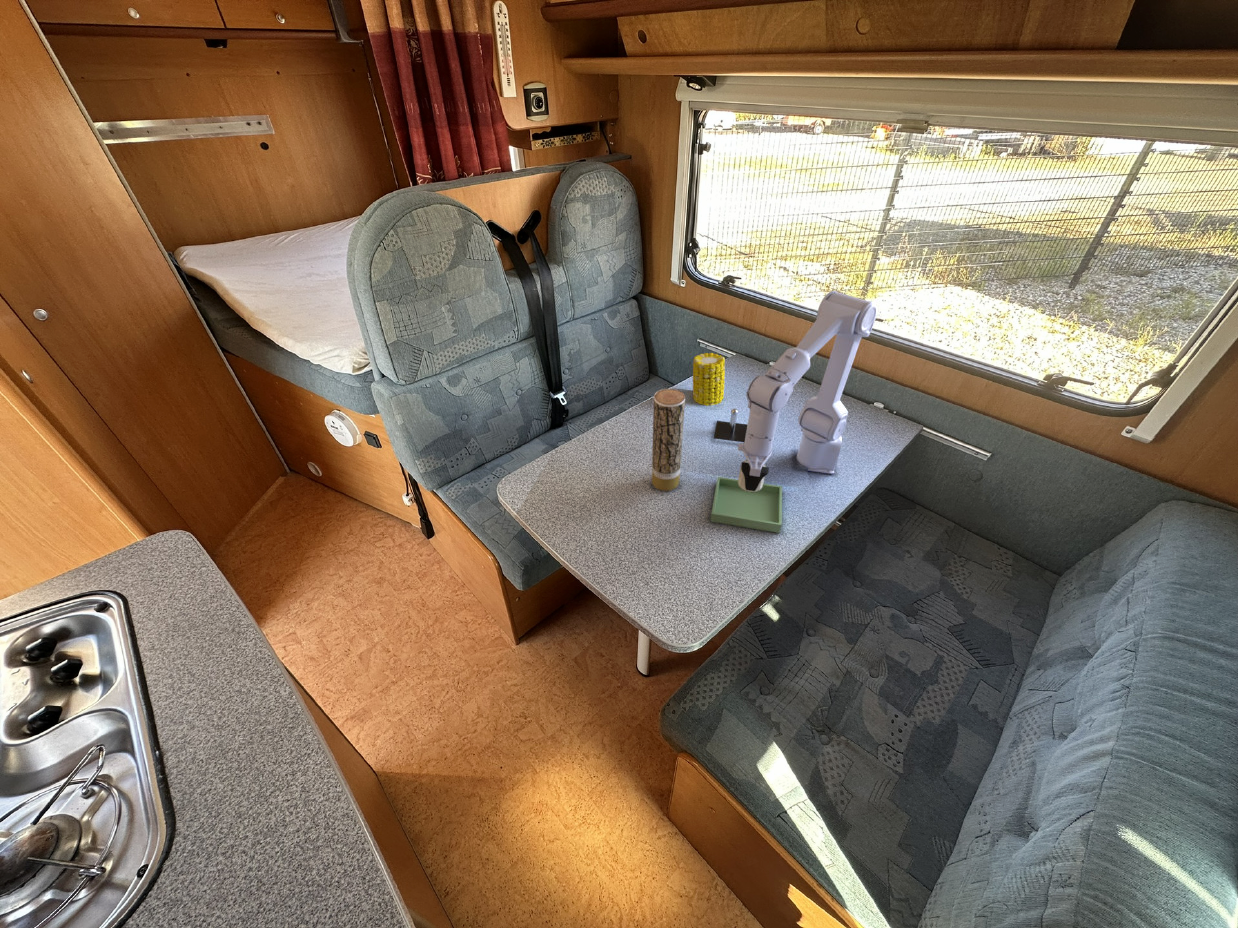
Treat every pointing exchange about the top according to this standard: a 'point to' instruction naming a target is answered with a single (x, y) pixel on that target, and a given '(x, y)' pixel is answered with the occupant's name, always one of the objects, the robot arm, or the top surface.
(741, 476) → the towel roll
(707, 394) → the food
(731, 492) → the tray
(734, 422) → the stand
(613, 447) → the top surface
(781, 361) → the robot arm
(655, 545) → the top surface
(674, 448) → the bark log
